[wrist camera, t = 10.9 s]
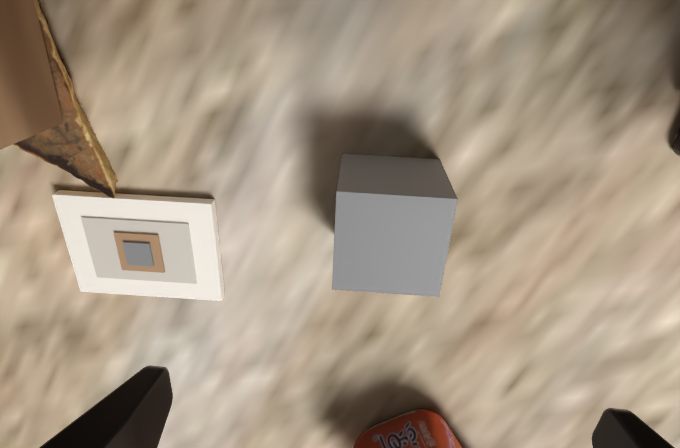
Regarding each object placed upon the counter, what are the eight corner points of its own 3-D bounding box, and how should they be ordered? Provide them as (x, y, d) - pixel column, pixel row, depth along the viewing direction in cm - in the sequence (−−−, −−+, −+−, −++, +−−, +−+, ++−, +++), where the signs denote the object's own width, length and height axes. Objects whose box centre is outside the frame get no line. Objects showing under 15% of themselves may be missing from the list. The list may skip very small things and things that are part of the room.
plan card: (214, 199, 19) (208, 207, 18) (224, 294, 22) (219, 305, 21) (59, 190, 19) (46, 197, 19) (86, 285, 22) (76, 295, 21)
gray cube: (439, 158, 18) (457, 199, 14) (425, 242, 20) (439, 296, 16) (342, 152, 18) (336, 191, 14) (338, 236, 20) (331, 289, 16)
